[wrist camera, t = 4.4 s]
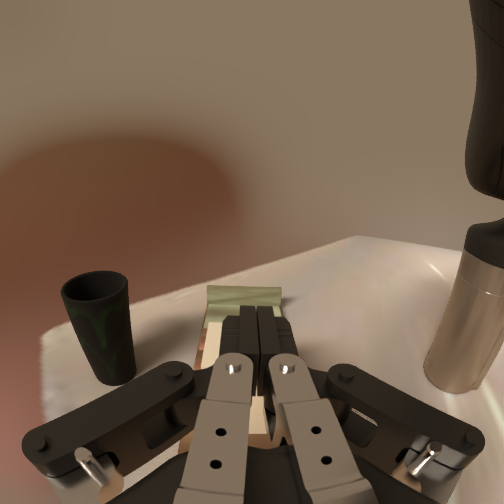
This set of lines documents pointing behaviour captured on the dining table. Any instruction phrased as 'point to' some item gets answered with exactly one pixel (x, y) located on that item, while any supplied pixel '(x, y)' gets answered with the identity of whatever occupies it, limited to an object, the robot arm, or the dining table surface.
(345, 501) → the robot arm
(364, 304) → the dining table surface
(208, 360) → the block
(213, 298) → the track
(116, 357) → the cup
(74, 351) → the dining table surface
